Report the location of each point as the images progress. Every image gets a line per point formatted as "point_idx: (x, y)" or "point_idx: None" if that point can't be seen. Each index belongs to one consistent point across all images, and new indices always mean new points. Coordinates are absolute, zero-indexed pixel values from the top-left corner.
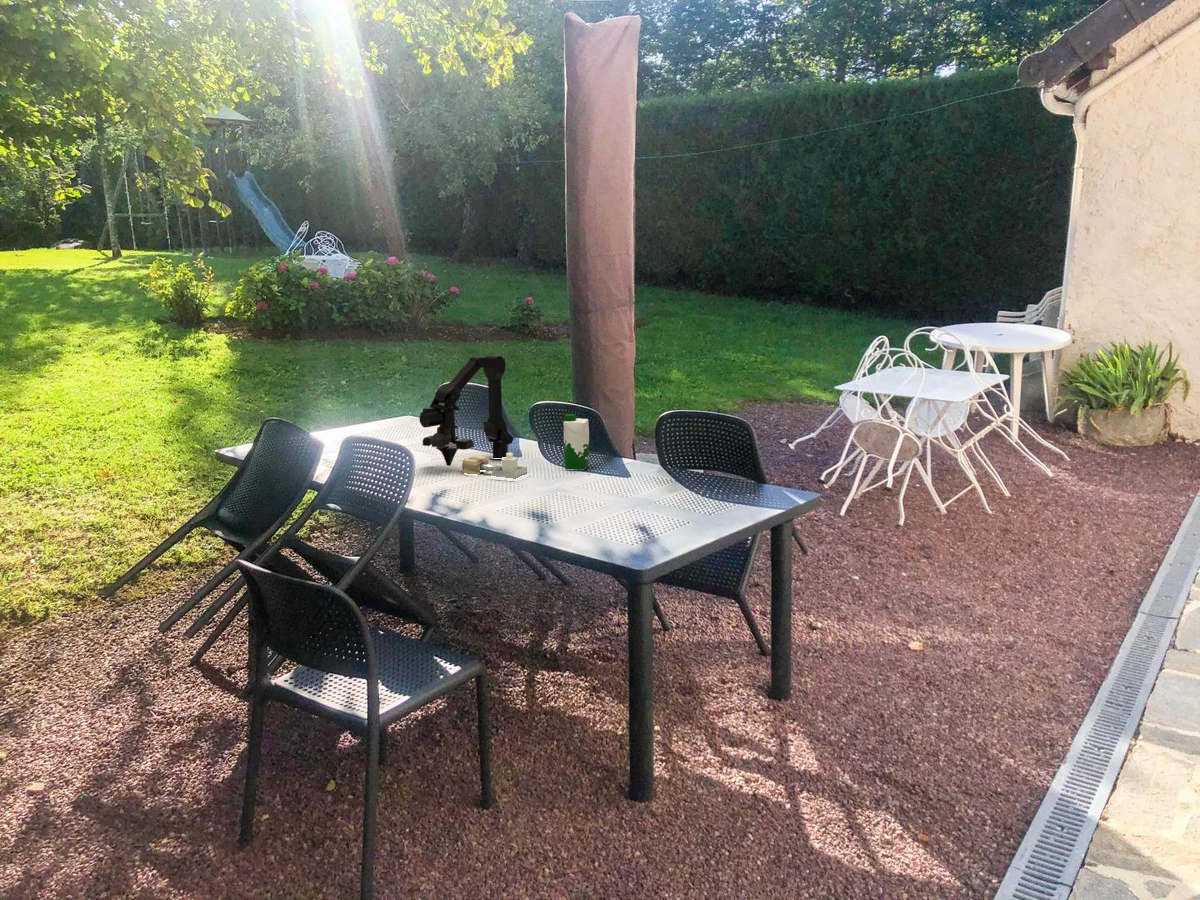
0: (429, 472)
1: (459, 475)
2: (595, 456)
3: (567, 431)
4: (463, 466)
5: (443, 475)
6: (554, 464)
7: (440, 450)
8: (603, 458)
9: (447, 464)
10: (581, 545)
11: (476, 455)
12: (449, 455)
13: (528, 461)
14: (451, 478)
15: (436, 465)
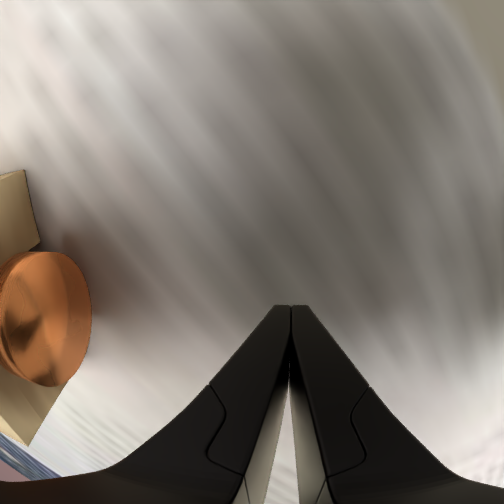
0: (453, 97)
1: (42, 134)
2: (32, 478)
3: None
4: (18, 258)
5: (185, 27)
6: (4, 436)
7: (475, 500)
8: (11, 464)
9: (299, 312)
10: None
11: (24, 444)
12: (196, 421)
13: (75, 471)
14: (43, 3)
15: (476, 366)
